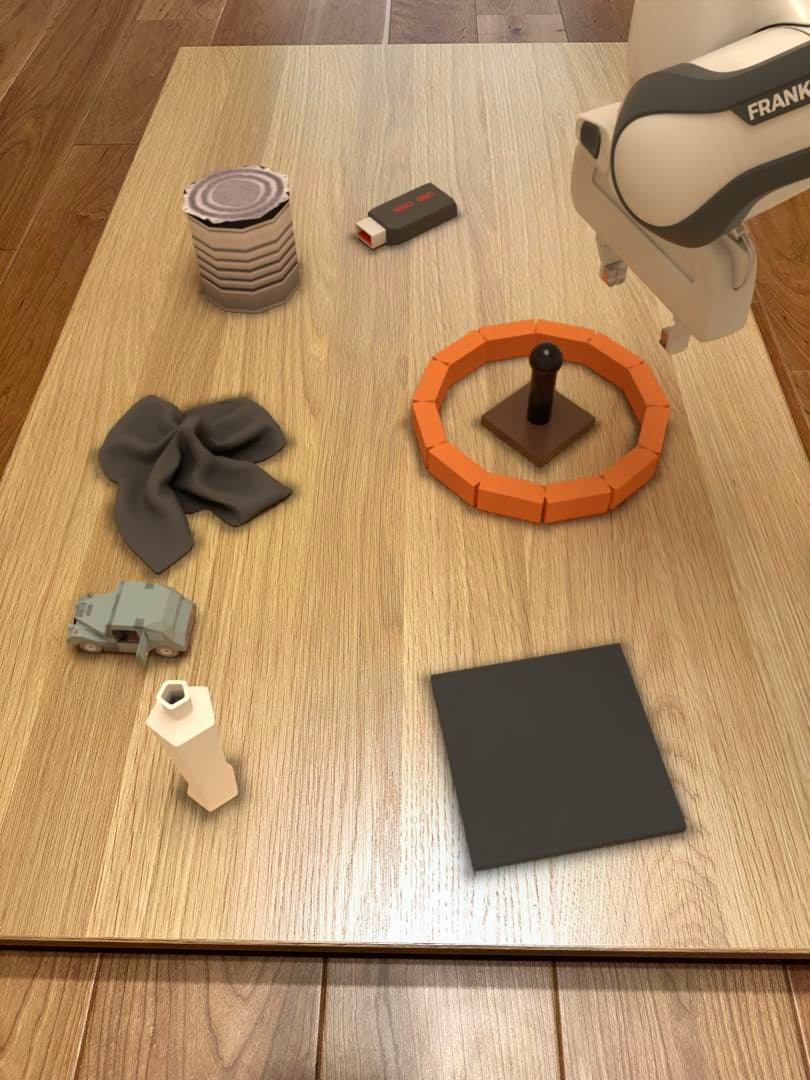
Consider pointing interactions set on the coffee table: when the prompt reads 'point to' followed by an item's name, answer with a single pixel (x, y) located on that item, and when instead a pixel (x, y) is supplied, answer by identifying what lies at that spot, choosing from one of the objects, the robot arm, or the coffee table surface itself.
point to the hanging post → (539, 411)
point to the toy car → (133, 620)
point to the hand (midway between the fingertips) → (640, 313)
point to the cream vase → (193, 742)
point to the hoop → (524, 495)
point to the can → (243, 237)
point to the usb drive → (406, 216)
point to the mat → (553, 757)
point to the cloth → (188, 470)
